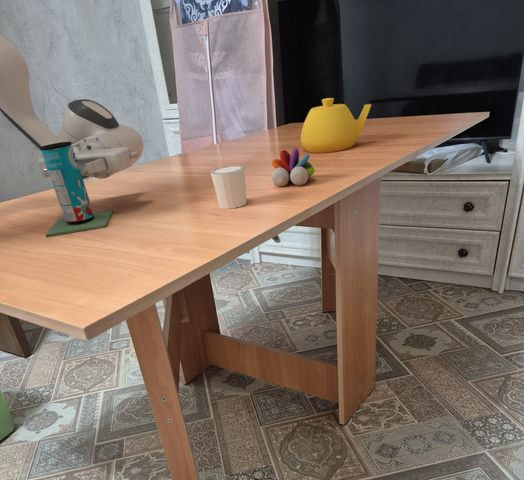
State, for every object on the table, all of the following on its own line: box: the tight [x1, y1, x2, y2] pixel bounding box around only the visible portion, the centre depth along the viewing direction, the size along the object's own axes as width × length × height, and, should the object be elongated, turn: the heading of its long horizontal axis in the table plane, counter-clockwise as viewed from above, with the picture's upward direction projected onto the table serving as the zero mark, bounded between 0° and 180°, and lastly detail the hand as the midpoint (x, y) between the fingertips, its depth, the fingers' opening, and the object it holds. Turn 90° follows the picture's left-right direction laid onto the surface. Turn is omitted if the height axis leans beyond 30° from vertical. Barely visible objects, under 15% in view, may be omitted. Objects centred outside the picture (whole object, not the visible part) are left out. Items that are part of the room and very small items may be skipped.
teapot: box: [300, 97, 372, 154], centre depth 133 cm, size 20×19×13 cm
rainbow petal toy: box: [271, 147, 316, 187], centre depth 104 cm, size 8×10×7 cm
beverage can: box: [39, 142, 94, 225], centre depth 94 cm, size 6×6×15 cm
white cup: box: [210, 165, 247, 210], centre depth 94 cm, size 7×7×7 cm
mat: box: [45, 208, 114, 238], centre depth 98 cm, size 12×12×1 cm
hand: (65, 171), depth 93 cm, fingers open, 8 cm apart
